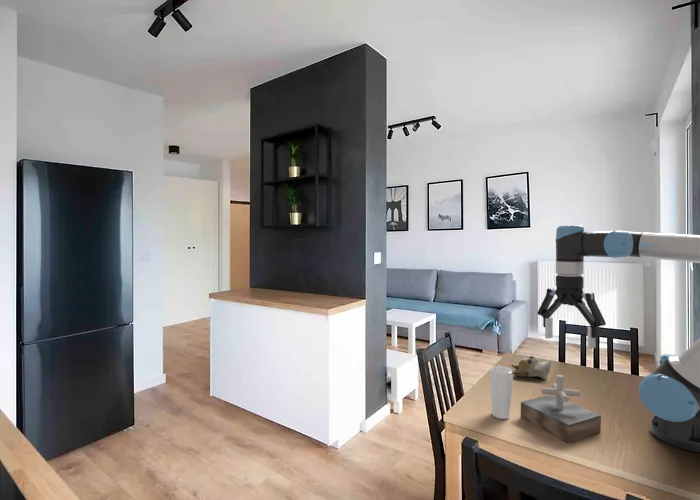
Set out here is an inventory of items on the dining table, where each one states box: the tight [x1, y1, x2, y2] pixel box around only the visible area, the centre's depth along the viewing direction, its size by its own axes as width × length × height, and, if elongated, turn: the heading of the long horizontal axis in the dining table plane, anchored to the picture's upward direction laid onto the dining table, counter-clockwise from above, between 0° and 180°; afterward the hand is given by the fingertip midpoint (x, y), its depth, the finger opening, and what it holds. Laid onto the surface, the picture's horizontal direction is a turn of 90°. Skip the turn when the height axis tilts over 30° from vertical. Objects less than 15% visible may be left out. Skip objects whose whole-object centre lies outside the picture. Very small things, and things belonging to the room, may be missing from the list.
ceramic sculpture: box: [511, 355, 552, 380], centre depth 154 cm, size 11×9×15 cm
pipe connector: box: [540, 374, 580, 410], centre depth 114 cm, size 10×10×10 cm
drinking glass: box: [489, 365, 514, 420], centre depth 120 cm, size 7×7×15 cm
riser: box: [520, 394, 602, 443], centre depth 115 cm, size 16×14×5 cm
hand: (569, 342), depth 118 cm, fingers open, 13 cm apart
